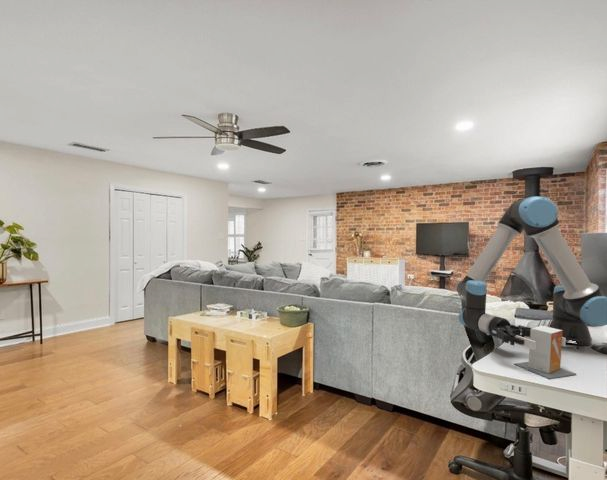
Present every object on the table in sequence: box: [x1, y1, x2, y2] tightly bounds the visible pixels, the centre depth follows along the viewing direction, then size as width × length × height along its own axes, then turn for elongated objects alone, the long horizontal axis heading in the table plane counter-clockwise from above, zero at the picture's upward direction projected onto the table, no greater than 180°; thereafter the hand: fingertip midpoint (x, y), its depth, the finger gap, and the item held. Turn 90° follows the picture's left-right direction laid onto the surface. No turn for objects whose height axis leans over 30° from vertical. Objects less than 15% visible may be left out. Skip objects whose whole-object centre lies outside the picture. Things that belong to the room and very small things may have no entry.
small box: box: [528, 325, 563, 374], centre depth 115 cm, size 8×6×13 cm
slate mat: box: [514, 361, 577, 380], centre depth 115 cm, size 12×12×1 cm
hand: (550, 343), depth 113 cm, fingers open, 13 cm apart
